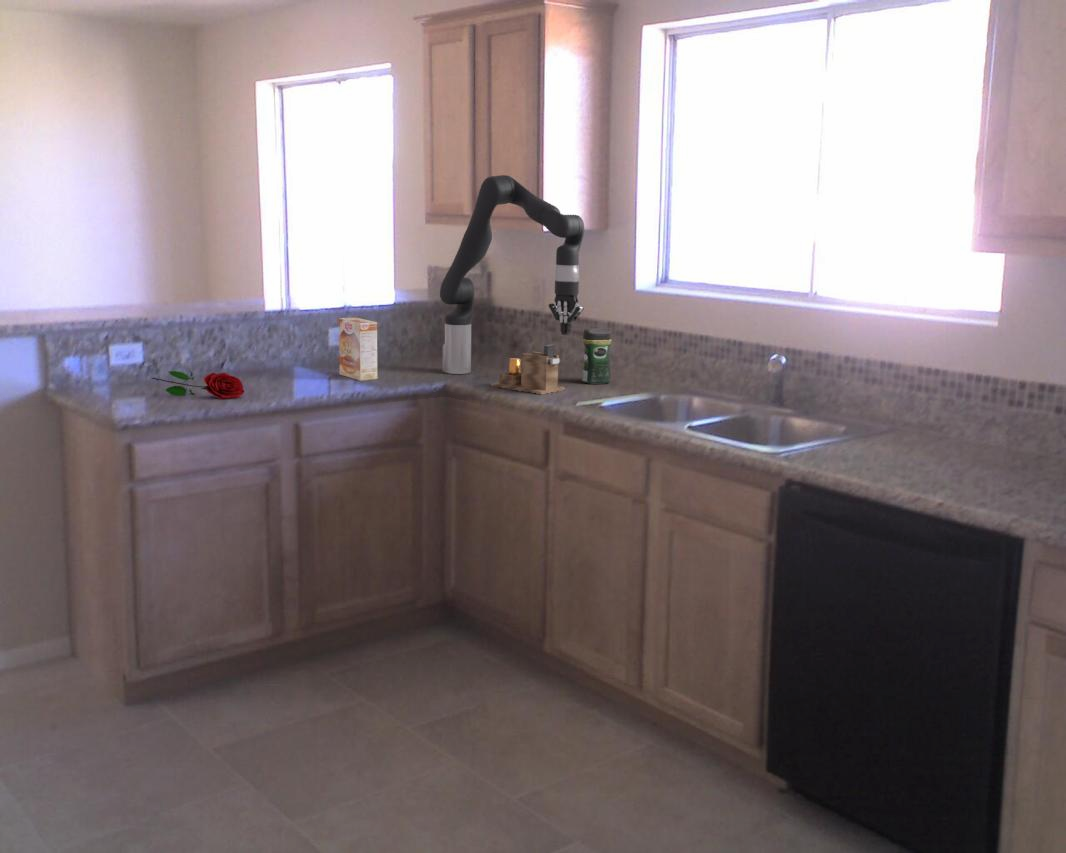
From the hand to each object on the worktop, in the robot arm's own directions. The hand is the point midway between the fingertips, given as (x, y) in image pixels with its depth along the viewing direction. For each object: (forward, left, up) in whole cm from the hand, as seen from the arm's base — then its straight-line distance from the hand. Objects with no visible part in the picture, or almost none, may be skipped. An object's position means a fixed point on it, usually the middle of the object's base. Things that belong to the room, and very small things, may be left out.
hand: (565, 334), depth 357 cm
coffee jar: (-7, +26, -19) cm, 33 cm away
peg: (-21, 0, -18) cm, 28 cm away
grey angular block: (-10, 0, -10) cm, 14 cm away
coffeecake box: (-69, -26, -19) cm, 76 cm away
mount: (-15, 0, -19) cm, 25 cm away
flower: (-74, -86, -20) cm, 115 cm away
